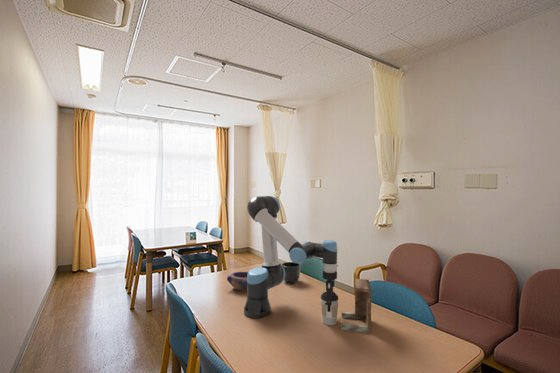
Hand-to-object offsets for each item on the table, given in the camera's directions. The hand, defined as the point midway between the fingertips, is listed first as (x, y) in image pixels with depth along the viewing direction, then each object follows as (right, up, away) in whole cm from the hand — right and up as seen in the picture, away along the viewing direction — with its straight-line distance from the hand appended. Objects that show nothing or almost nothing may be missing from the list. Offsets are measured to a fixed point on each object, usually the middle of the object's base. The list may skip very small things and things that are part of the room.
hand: (329, 311), depth 146 cm
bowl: (-52, -6, +48) cm, 71 cm away
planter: (-18, -6, +61) cm, 63 cm away
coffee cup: (0, -5, 0) cm, 5 cm away
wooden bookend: (+12, -5, -3) cm, 13 cm away
